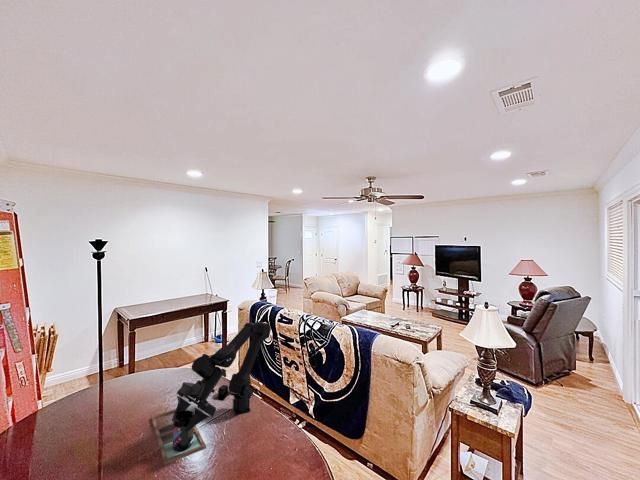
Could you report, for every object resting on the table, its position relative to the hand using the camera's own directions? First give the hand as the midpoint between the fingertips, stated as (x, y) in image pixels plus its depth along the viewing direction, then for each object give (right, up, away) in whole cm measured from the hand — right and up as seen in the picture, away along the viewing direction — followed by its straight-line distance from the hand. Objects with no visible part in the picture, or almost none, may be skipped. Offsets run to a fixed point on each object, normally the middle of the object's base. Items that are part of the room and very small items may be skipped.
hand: (179, 425), depth 99 cm
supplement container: (+1, -8, +1) cm, 8 cm away
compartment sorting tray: (-5, -8, +9) cm, 13 cm away
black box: (+3, -10, +37) cm, 38 cm away
